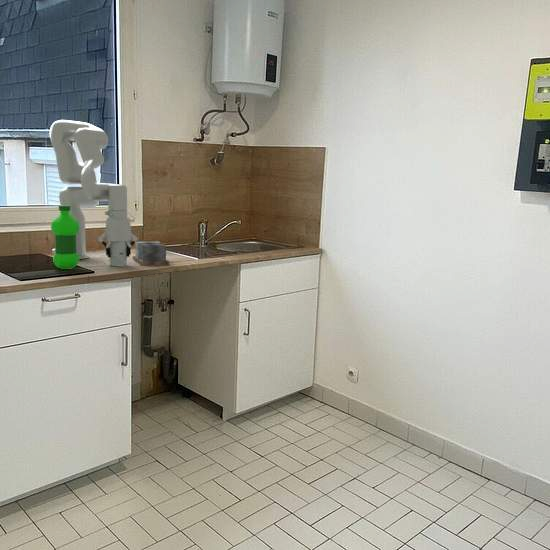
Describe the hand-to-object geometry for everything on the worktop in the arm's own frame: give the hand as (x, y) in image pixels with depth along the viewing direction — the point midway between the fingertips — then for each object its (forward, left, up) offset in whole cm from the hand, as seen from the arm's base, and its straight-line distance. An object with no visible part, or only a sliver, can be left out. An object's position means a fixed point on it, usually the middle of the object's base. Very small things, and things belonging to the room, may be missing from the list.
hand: (118, 256), depth 233 cm
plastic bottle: (-21, -4, -4) cm, 22 cm away
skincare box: (0, 0, -4) cm, 4 cm away
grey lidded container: (+15, +7, -4) cm, 17 cm away
